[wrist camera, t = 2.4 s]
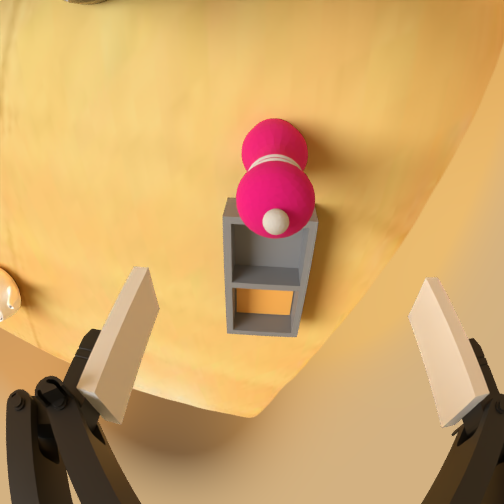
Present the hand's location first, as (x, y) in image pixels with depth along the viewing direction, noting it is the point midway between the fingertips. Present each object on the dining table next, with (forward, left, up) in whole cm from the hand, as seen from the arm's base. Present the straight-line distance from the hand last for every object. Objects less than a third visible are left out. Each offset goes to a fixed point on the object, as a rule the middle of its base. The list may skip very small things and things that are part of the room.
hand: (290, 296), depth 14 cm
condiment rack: (-1, -20, -27) cm, 33 cm away
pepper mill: (-1, -1, -27) cm, 27 cm away
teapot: (-62, -31, -27) cm, 74 cm away
